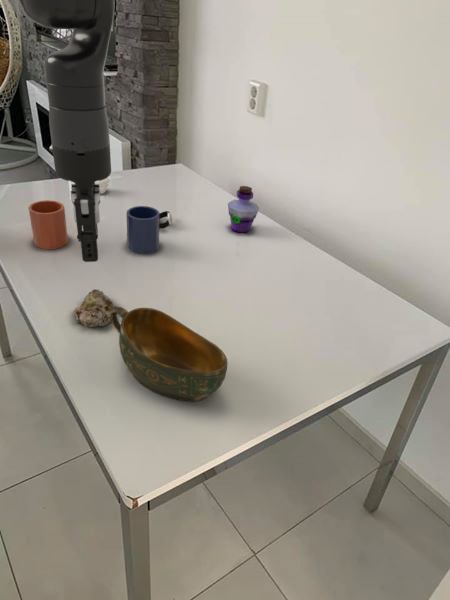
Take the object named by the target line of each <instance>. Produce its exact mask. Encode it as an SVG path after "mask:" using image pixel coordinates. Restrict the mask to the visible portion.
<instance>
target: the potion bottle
mask: <svg viewBox="0 0 450 600" xmlns="http://www.w3.org/2000/svg"><path fill="white" fill-rule="evenodd" d="M236 197H237V199H233V200H231V201H229V202H227V208H228V209H227V210H228V215H229V218H230V229H231V231H232V232H235V233H237V234H247V233H249V232H251V229H252V226H253V223H254V221H255V219H256V218H257V215H258V213H259V210H260V207H259V206H258V204H257V203H256V202H254V201H251V200H253V198H254V192H253V188H252V187H251V186H248V185H241V186H239V188H238V190H237V191H236Z"/></svg>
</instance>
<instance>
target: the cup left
mask: <svg viewBox="0 0 450 600" xmlns="http://www.w3.org/2000/svg"><path fill="white" fill-rule="evenodd" d="M28 215H29V220H30V226H31V232H32V238H33V244H34V245H35V246H36V247H37V248H39V249H44V250H56V249H59V248H63V247H64V246H66V245H67V244H68V242H69V238H68V229H67V220H66V212H65V206H64V204H63V203H62V202H60V201H57V200H38V201H35V202H32V203H31V204H29V206H28Z"/></svg>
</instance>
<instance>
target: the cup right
mask: <svg viewBox="0 0 450 600" xmlns="http://www.w3.org/2000/svg"><path fill="white" fill-rule="evenodd" d="M125 214H126V241H127V249H128V250H129V251H131V252H132V253H135V254H141V255H146V254H152V253H155V252H156V251H158V250H159V248H160V229H159V223H160V220H159V214H160V211H159V210H158V209H157V208H155V207H153V206H147V205H138V206H132V207H129V209H127V210H126V213H125Z"/></svg>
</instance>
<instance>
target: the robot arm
mask: <svg viewBox="0 0 450 600" xmlns="http://www.w3.org/2000/svg"><path fill="white" fill-rule="evenodd" d="M17 3H18V4H19V7H20V8H21V10H22V12H23V13H24V15H25V16H26V17H27V18H28V19H29V20H31V22H33V23H35V24H37V25H39V26H41V27H43V28H47V29H51V30H72V34H71V37H70V40H69V43H68V45H67V46H66V47H64V48H62V49H59V50H56V51H53V52H51V53H49V54H48V55H46V57H45V59H44V75H45V84H46V93H47V99H48V113H49V114H48V121H49V122H48V125H49V132H50V140H51V141H50V142H51V147H52V156H53V163H54V164H53V165H54V172H55V174H56V176H57V177H59V178H60V179H62V180H64V181H67V182H72V183H71V185H70V187H71V190H70V201H71V204H72V205H73V206H72V208H73V209H72V210H73V220H74V222H75V224H76V229H77V230H76V231H77V235H76V239H77V240H78V242H80V249H81V259H82V261H83V262H84V263H91V262H92V263H93V262H94V263H96V262H97V261H99V250H98V238H99V233H98V232H99V231H98V224H99V223H100V203H101V194H100V186H99V184H95V181H101V180H104V179H106V178H107V177H108V178H109V177H110V176H111V175H112V161H111V160H112V159H111V141H110V127H109V126H110V125H109V117H108V114H107V107H106V106H107V105H106V89H105V74H104V73H105V66H106V61H107V57H108V50H109V44H110V39H111V34H112V29H113V23H114V17H115V7H116V6H115V3H116V2H115V0H17Z"/></svg>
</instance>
